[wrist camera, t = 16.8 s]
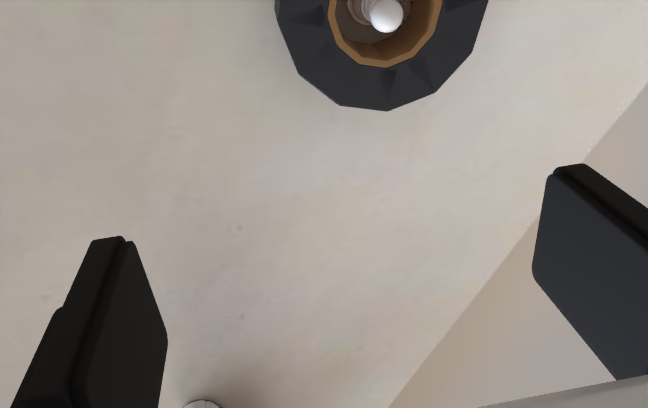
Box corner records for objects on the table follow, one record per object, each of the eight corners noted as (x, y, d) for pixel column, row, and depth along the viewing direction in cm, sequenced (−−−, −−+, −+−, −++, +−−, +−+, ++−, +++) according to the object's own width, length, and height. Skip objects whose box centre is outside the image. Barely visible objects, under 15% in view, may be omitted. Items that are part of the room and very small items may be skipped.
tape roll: (238, 13, 28) (237, 27, 25) (364, -167, 25) (381, -178, 21) (374, 121, 33) (388, 144, 30) (497, -17, 29) (527, -8, 26)
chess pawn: (396, -27, 28) (421, -15, 24) (391, 24, 30) (414, 44, 25) (347, -28, 28) (364, -16, 24) (345, 24, 29) (361, 44, 25)
